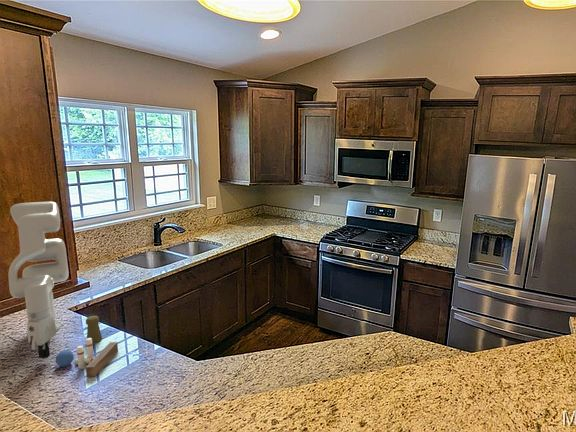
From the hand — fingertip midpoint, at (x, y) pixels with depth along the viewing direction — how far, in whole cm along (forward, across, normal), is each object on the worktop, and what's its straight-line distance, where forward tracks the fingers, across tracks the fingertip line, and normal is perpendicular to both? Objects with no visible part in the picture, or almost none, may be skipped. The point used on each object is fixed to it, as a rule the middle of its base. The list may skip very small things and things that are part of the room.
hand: (44, 356), depth 144 cm
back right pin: (+2, -4, -17) cm, 17 cm away
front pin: (+1, -1, -13) cm, 13 cm away
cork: (+3, +17, -10) cm, 20 cm away
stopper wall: (+2, -1, -23) cm, 23 cm away
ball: (-1, -2, -9) cm, 10 cm away
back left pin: (+2, +2, -17) cm, 17 cm away
